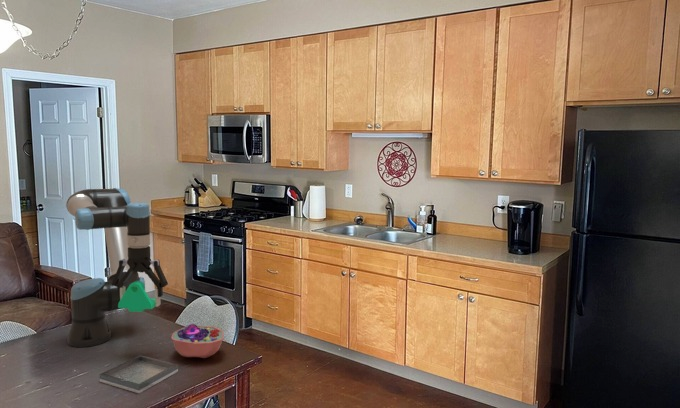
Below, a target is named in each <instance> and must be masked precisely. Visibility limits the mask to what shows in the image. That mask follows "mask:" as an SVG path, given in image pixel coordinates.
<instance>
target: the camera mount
mask: <svg viewBox="0 0 680 408" xmlns="http://www.w3.org/2000/svg"><path fill="white" fill-rule="evenodd" d="M136 287H137V289H136ZM144 288H145V290H144ZM155 307H156V306H155V298H153V297H152V298H150V297H149V295H148V293H147V292H146V285H145V286H144V284H143V282H141V281H135V282H134V283H132V284H130V285H129V287H128V288H127V290H126V292H125V293H124V295H123V297H122V298H121V300H120V302H119V303H118V308H126V309H127V310H128V312H130V313H131V312H139V313H141V312H144V311H145V310H153V309H154V308H155Z"/></svg>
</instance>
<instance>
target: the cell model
mask: <svg viewBox="0 0 680 408" xmlns="http://www.w3.org/2000/svg"><path fill="white" fill-rule="evenodd" d="M170 338H171V339H172V342H173V347H174V348H175V351H176V352H177V353H178V354H179V355H180V356H182V357H183V358H184V357H185V358H199V359H200V358H202V359H208V358H210V357H212V356H213V355H215V354H217V352H218V351H219V350H220V347H221V345H222V343H223V339H224V331H223V330H221V329H219V328H218V327H215V326H204V325H196V324H195V323H194V324H193V323H190V324H188V325H186V326H184V327H182V328H179V329H177V330H175V331H174V332H172V334H171V337H170Z"/></svg>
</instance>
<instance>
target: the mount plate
mask: <svg viewBox="0 0 680 408" xmlns="http://www.w3.org/2000/svg"><path fill="white" fill-rule="evenodd" d="M178 372H179V364H177V363H172V362H168V361H166V360H162V359H157V358H154V357H149V356H146V355H143V354H139V355H138V356H136V357H133V358H131V359H129V360H127V361H125V362H123V363H121V364H119V365H117V366H114V367H112V368H110V369H107V370H106V371H104V372H102V373H99V382H100V383H103V384H106V385H109V386H113V387H116V388H119V389H122V390H125V391H128V392H133V393H136V394H138V395H139V394H141V393H143V392H144V391H146V390H148V389H150V388H151V387H154V386H155V385H157V384H159V383H160V382H162V381H164V380H166V379H167V378H169V377H171V376H173V375H175V374H177V373H178Z"/></svg>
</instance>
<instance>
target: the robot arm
mask: <svg viewBox="0 0 680 408" xmlns="http://www.w3.org/2000/svg"><path fill="white" fill-rule="evenodd" d="M65 207H66V210H67V212H68V213H69V214H70V215H71V216H73V217H74V219H75V220H74V221H75V227H76V229H78V230H86V231H89V230H97V229H98V230H99V229H104V234H105V242H106V247H107V249H106V250H107V255H108V261H109V263H108V264H109V268H110V274H109V276H108V278H107V281H105V279H103V278H101V277H96V278H89V279H84V280H81V281H78V282H77V283H75V284H74V285H72V287H71V289H70V301H71V302H70V304H71V305H70V306H71V307H70V308H71V324H70V328H69V333H68V334H67V338H66V339H67V345H68V346H70V347H76V348H87V347H92V346H93V347H94V346H98V345H101V344H104V343H106V342H108V341H109V340H111V337H112V336H111V334H112V333H111V330H110V327H109V324H108V321H107V320H106V319H107V318H106V312H112V311H118V310H124V309H127V308H118V303H119V302H120V300H121V298H122V297H123V295H124V293H125V292H126V290H127V288H128V287H129V285H130V284H132V283H134V282H135V281H141V282H143V284H144V286H145V288H144V290H145V291H146V281H145V279H144V277H142V276H140V277H139V273H142V274H143V273H144V274H146V275H147V276H148V278H149V279H150V281H152V282H153V284H154V285H155V287H156V288H154V293H155V294H154V299H155V307H159V306H160V305H161V304H162V303H161V298H162V297H163V295H164V293H163V292H164V291H163V289H164V288H165V287H166V286H168V285H169V283H168V282H169V281H168V280H167V278H166V276H165V274H164V272H163V270H162V267H161V263H160V259H156V260H152V259H151V246H150V245H151V228H150V227H151V221H150V220H151V219H150V215H151V212H150V205H149V203H146V202H132V201H131V198H130V195H129V192H128V191H127V190H125V188H116V187H114V188H89V189H82V190H79V191H76V192H74V193H73V194H72V195H70V196H69V197H68V199H67V201H66V206H65ZM151 265H152V267H153V268H154V270H155V272H154V271H153V269H152V268H151ZM136 289H137V287H136Z"/></svg>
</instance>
